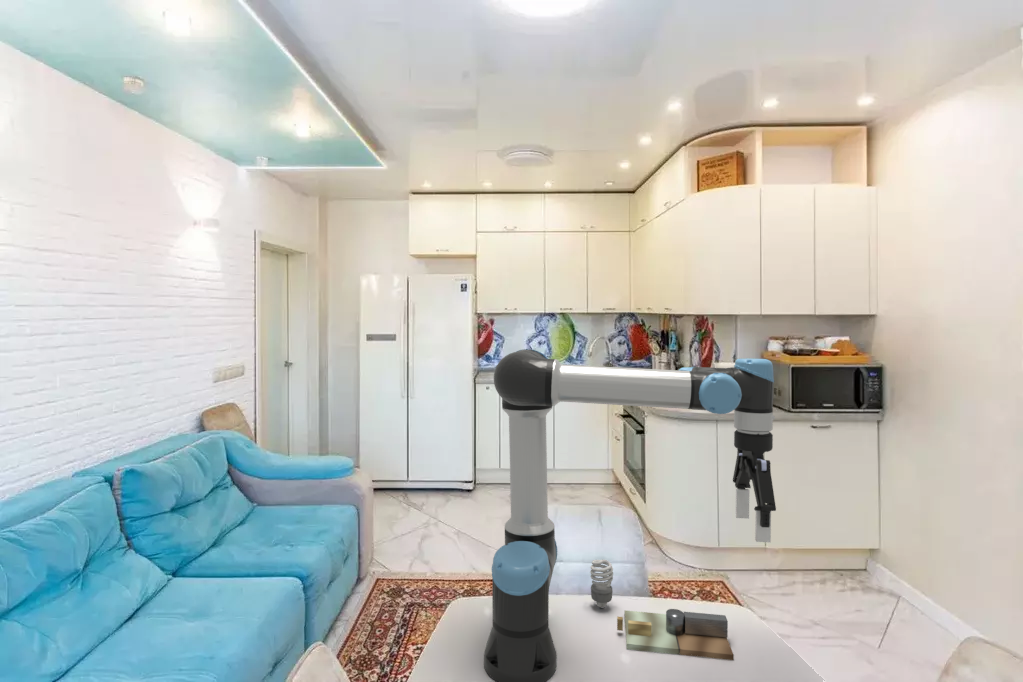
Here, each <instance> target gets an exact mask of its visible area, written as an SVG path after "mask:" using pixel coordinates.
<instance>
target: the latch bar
mask: <svg viewBox="0 0 1023 682" xmlns="http://www.w3.org/2000/svg"><path fill="white" fill-rule="evenodd" d="M665 614H666V630H667V632H669V633H671V634H673V635H682V634H683V633H684V631H685V634H696V635H706V636H716V637H727V638H728V630H729V629H728V626H729V625H728V624H729V623H728V622H729V621H728V619H727V616H726V614H717V613H716V614H715V613H703V612H702V613H701V612H693V611H692V612H691V611H683V610H680V609H677V608H669V609H667V610H666V611H665Z"/></svg>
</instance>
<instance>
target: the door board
mask: <svg viewBox="0 0 1023 682" xmlns="http://www.w3.org/2000/svg"><path fill="white" fill-rule="evenodd" d="M616 620H617V621H616V624H617V625H616V627H617V628H616V630H617V631H623V630H624V629H625V645H626V650H631V651H632V650H633V651H640V652H649V653H657V654H658V653H661V654H669V655H680V656H689V657H699V658H708V659H716V660H725V661H726V660H728V661H734V656H735V655H734V652H733V650H732V648H731V644H730V642H729V640H728V636H727V637H716V636H706V635H696V634H685V631H684V633H683V634H682V635H673V634H671V633H669V632H667V630H666V613H658V612H647V611H646V612H645V611H635V610H624V617H623V616H617V617H616ZM623 620H624V621H623ZM623 622H624V623H623ZM624 627H625V628H624Z"/></svg>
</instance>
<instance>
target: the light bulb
mask: <svg viewBox="0 0 1023 682" xmlns="http://www.w3.org/2000/svg"><path fill="white" fill-rule="evenodd" d="M613 571H614V568H613V565H612V563H611V562H610V561H609V560H608V559H594V560H592V561H591V565H590V572H589V573H590V579H591V583H592V584H591V585H590V595H591V596H590V597H591V599H592V600H593V601H594V602H595V603H596V606H597V607H599V608H600V609H603V608H606V607H607V604H608V603H609V602H611V601H612V599H613V587H612V581H613V580H614V572H613Z"/></svg>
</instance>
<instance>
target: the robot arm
mask: <svg viewBox="0 0 1023 682" xmlns="http://www.w3.org/2000/svg"><path fill="white" fill-rule="evenodd" d="M773 365H774V364H773V362H772V361H771V360H769V359H765V358H750V357H749V358H748V357H746V358H742V357H741V358H737V359H736V360H735V362H734V365H733V367H707V366H706V367H704V366H703V367H701V366H699V367H697V366H691V367H687V366H686V367H681V368H679V369H678V370H676V369H675V370H674V369H658V368H657V369H655V368H637V367H621V366H618V367H616V366H599V365H598V366H597V365H579V364H577V365H576V364H562V363H561V362H560V361H559V360H558V359H557V358H556V359H555V358H548V357H547V356H546V355H545V354H544V353H542V352H541V351H539V350H535V349H529V348H526V349H520V350H516V351H514V352H512V353H508V354H506V355H505V356H504V357H503V358H501V359H500V360H499V362H498V363H497V365H496V366H495V370H494V372H493V385H494V388H495V391H496V392H497V394H498V395H499V396H500V398H501V409H502V410H503V412H505V413H506V414H507V415H508V434H509V477H510V478H509V482H510V483H509V484H510V485H509V487H510V488H509V490H510V492H509V493H510V496H509V497H510V517H509V519H508V520H507V521H506V522H505V523H504V544H503V545H502V546H501V547H499V548H498V549H497V550H496V551H495V553H494V555H493V558H492V564H491V576H492V587H491V588H492V603H491V604H492V607H491V608H492V626H491V629H490V633H489V635H488V639H487V642H486V645H485V648H484V653H483V667H484V670H485V672H486V673H487V675H488V677H490V678H491V679H492V680H494V681H496V682H546V681H547V680H549V679H550V678H551V677H553V676H554V675H555V673H556V670H557V665H558V663H557V661H558V660H557V659H558V655H557V654H558V653H557V650H556V646H555V643H554V639H553V636H552V634H551V631H550V628H549V608H550V607H549V604H550V603H549V601H550V599H549V594H550V585H551V581H552V577H553V573H554V567H555V566H556V562H557V558H558V546H557V541H556V535H555V534H556V533H555V522H553V521H552V520H551V519H550V518H549V516H548V515H549V514H548V513H549V511H548V508H549V507H548V504H549V503H548V457H547V456H548V455H547V454H548V452H547V448H548V447H547V415H548V413H549V412H550V411H552V410H553V407H555V406H556V405H558V404H559V403H563V402H564V403H578V404H580V403H582V404H597V405H599V404H600V405H611V406H612V405H617V406H632V407H650V408H665V409H667V408H668V409H682V410H683V409H684V410H691V411H692V410H695V411H707V412H710V413H712V414H715V415H716V414H717V415H726V414H728V413H732V412H733V411H734V412H733V414H734V415H733V427H734V428H735V429H736V430H735V431H733V437H734V438H733V439H734V440H733V444H734V445H733V446H734V447H735V448H736V450H737V451H736V452H737V456H736V460H735V466H734V471H733V476H732V482H733V484H734V487H735V518H736V519H750V489H751V487H752V486H753V492H754V496H755V502H756V505H757V506H754V511H755V532H754V534H755V535H754V536H755V537H754V538H755V539H754V540H755V542H756V543H771V541H772V537H771V536H772V535H771V534H772V529H771V528H772V512H776V511H777V507H776V501H775V493H774V492H775V491H774V486H773V480H772V473H771V472H772V471H771V465H772V464H771V461H770V460H769V459H765V457H764V454H765V453H768V452H770V451H772V450H773V445H774V443H773V441H774V438H773V436H774V434H773V433H772V432H771V431H773V426H774V424H773V423H774V422H773V421H775V419H776V417H775V415H773V414H774V409H773V407H774V406H773V405H774V383H775V378H774V366H773ZM751 482H752V485H751V484H750V483H751Z"/></svg>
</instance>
